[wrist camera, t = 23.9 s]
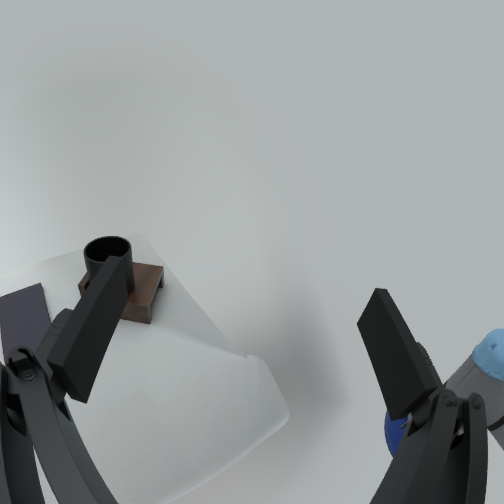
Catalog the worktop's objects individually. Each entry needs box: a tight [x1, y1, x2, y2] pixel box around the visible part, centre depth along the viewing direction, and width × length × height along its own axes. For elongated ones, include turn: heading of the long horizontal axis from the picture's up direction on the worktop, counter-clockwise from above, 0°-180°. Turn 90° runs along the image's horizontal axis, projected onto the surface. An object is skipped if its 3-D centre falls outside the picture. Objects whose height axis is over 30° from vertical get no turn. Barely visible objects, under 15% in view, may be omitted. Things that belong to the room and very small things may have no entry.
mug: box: [84, 236, 135, 295], centre depth 48 cm, size 9×12×9 cm
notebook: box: [0, 283, 51, 366], centre depth 39 cm, size 13×2×21 cm
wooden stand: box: [78, 262, 164, 324], centre depth 53 cm, size 15×13×7 cm
